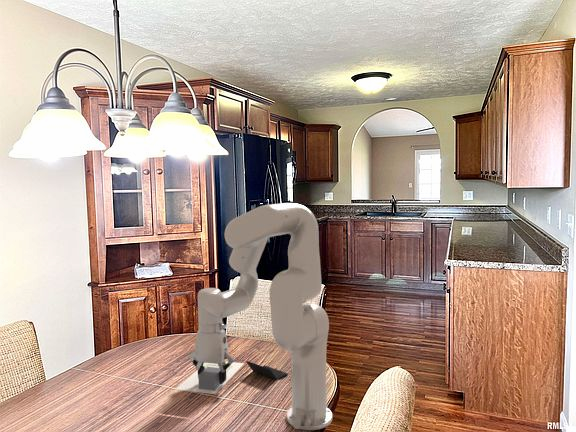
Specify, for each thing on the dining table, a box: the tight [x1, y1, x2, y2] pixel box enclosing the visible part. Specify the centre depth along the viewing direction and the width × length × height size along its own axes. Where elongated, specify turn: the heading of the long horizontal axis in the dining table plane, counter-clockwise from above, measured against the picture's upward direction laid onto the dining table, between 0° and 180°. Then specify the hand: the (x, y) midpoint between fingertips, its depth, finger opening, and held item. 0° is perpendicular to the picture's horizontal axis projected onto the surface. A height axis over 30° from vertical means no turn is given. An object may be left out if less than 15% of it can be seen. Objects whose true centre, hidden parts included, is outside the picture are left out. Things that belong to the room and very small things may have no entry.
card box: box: [198, 365, 221, 391], centre depth 140 cm, size 8×6×4 cm
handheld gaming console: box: [245, 360, 288, 381], centre depth 146 cm, size 12×7×10 cm
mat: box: [175, 360, 245, 395], centre depth 147 cm, size 24×14×1 cm, turn 164°
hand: (212, 380), depth 140 cm, fingers open, 6 cm apart
